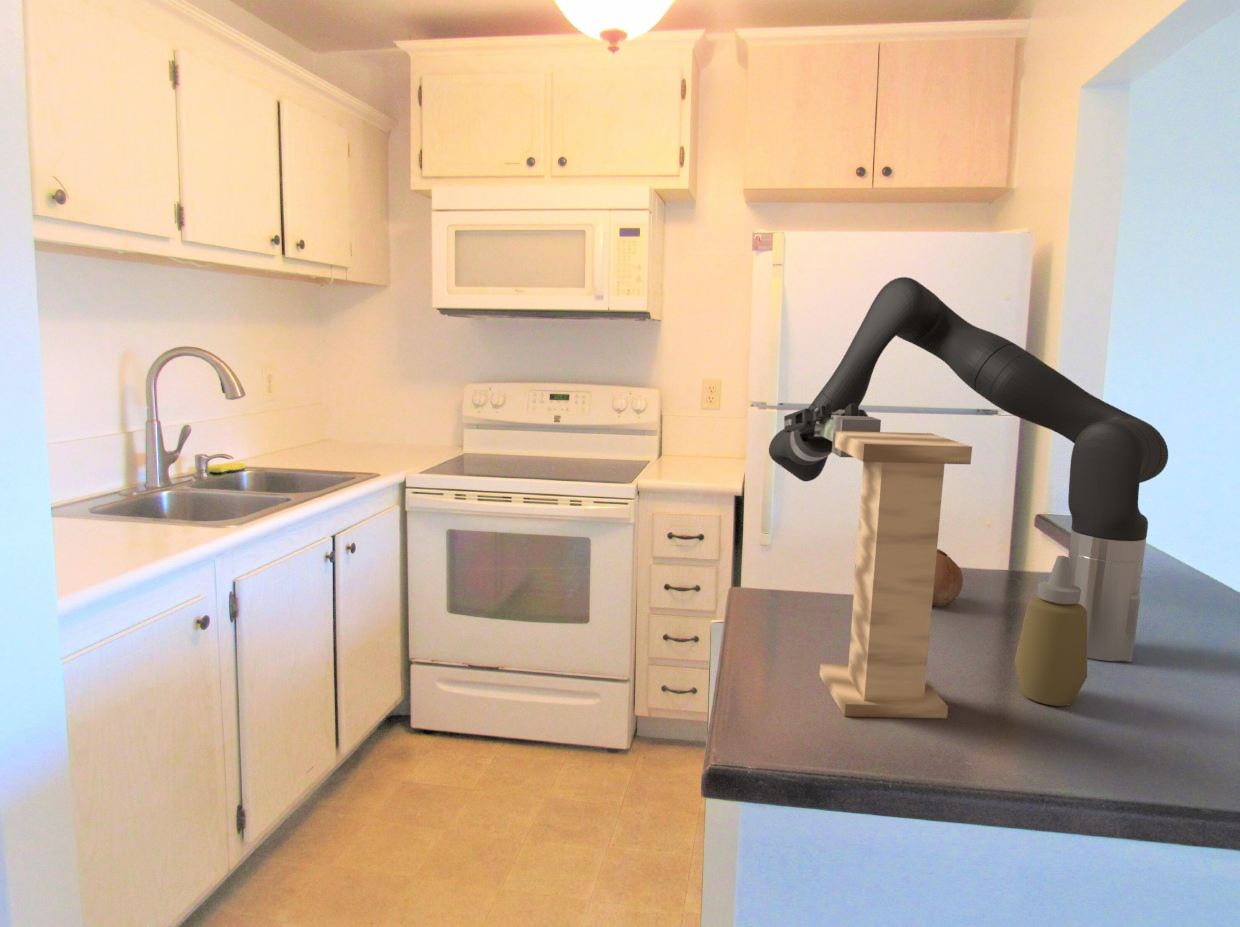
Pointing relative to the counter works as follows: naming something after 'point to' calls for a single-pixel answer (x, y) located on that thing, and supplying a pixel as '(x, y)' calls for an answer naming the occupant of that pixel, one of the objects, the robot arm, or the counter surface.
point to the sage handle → (848, 428)
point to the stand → (894, 574)
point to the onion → (946, 580)
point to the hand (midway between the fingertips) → (841, 410)
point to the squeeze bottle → (1053, 641)
